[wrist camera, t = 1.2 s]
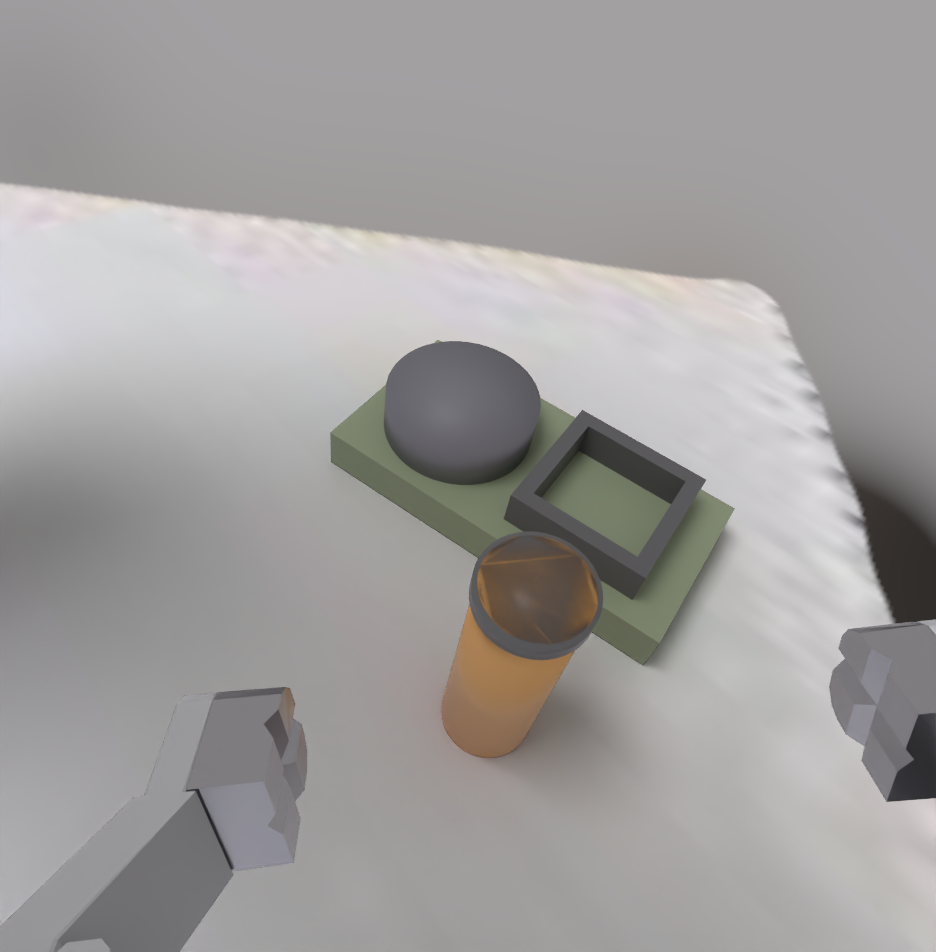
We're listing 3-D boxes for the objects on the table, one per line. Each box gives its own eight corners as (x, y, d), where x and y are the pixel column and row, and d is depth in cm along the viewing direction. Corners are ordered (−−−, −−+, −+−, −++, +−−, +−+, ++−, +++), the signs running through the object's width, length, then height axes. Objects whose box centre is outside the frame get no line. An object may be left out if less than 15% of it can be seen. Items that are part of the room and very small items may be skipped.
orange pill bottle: (418, 721, 40) (445, 596, 29) (473, 647, 43) (516, 510, 32) (500, 782, 39) (562, 676, 28) (551, 702, 42) (625, 577, 31)
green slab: (331, 461, 50) (329, 400, 45) (434, 369, 57) (442, 307, 52) (642, 665, 44) (678, 618, 39) (716, 533, 51) (754, 480, 46)
